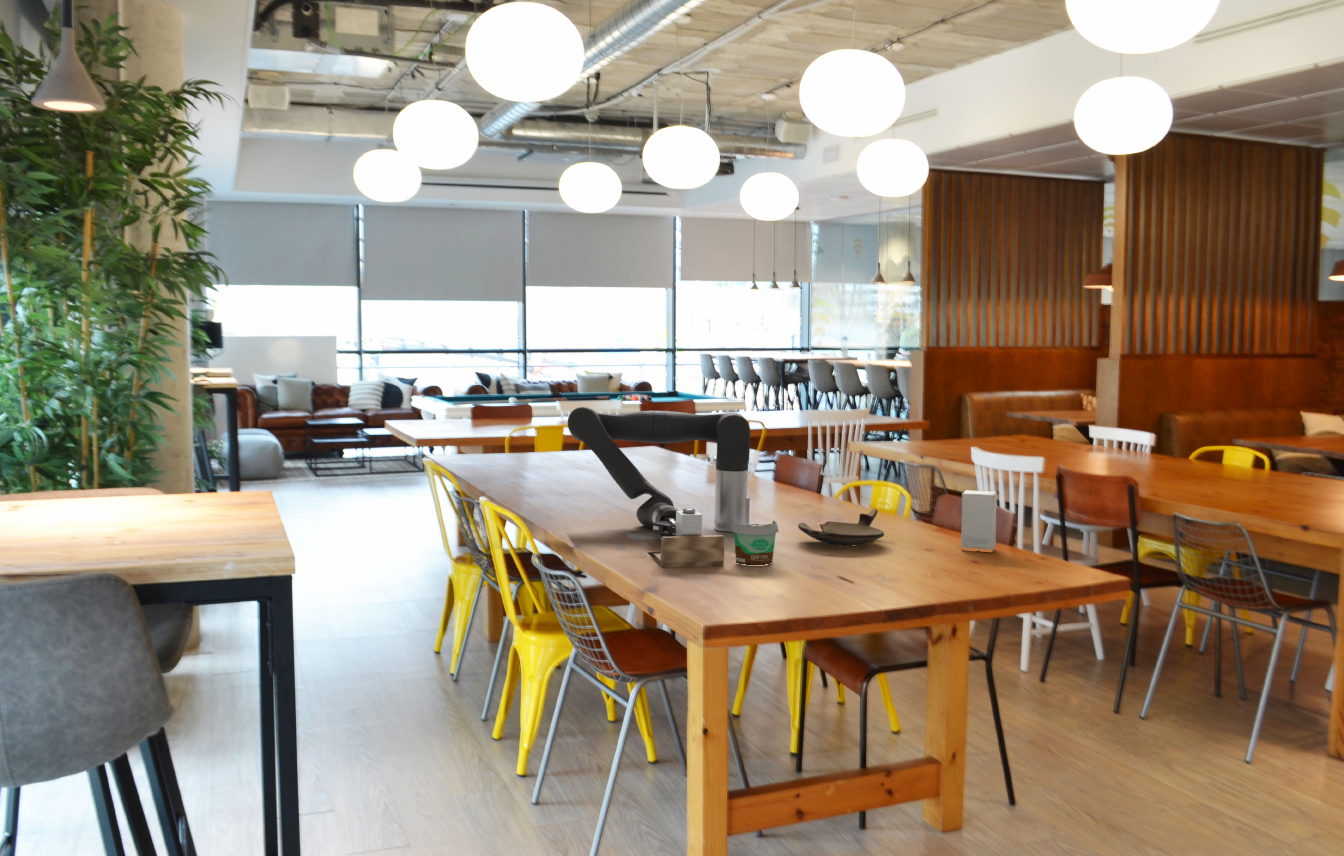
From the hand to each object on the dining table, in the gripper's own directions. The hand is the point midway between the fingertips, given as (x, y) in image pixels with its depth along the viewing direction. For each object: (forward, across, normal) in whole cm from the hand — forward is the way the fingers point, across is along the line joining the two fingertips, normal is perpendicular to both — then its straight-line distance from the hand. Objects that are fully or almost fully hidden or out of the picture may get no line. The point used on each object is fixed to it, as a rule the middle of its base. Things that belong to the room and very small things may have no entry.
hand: (685, 533), depth 260 cm
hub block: (+5, -1, +5) cm, 7 cm away
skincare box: (+3, +79, +7) cm, 79 cm away
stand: (-21, -6, +6) cm, 22 cm away
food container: (+11, +16, +6) cm, 20 cm away
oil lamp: (-10, +48, +7) cm, 50 cm away
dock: (+1, 0, +6) cm, 6 cm away
